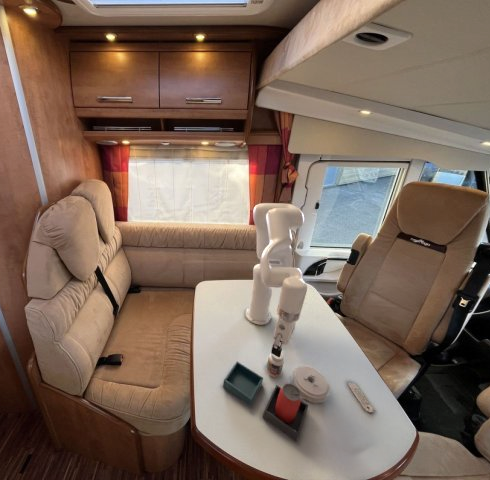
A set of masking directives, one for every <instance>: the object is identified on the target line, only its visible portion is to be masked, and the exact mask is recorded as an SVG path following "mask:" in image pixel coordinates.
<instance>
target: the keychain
mask: <svg viewBox="0 0 490 480" xmlns="http://www.w3.org/2000/svg"><path fill="white" fill-rule="evenodd" d="M348 387H349V389H351V392H352V393H353V394H354V397H356V399H357V400H358V402H359V403H360V405H361V407H362V408H363V409H364V411H366V412H367V413H373V412H374V407H373V406H372V405H371V404H370V402H369V401H368V399H367V398H366V396H365V395H364V394H363V392H362V391H361V390H360V388H359V386H358V385H357V384H356V383H354V382H349V383H348Z"/></svg>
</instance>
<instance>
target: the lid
mask: <svg viewBox="0 0 490 480" xmlns="http://www.w3.org/2000/svg"><path fill="white" fill-rule="evenodd" d="M290 381H291V384H292V385H294V386H296V387H297V388H298V389H299V391H300V393H301V398H302V399H304V400H305V401H308V402H310V403H315V404H319V403H320V404H321V403H323V402H325V401H326V400H327V398H328V396H329V394H330V391H331V390H330V384H329V381H328V380H327V378H326V377H325V375H323V373H321V372H320V371H319V370H318V369H316V368H314V367H311V366H309V365H298V366H296V367H295V368H294V369H293V371H292V375H291V379H290Z"/></svg>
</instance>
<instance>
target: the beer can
mask: <svg viewBox="0 0 490 480" xmlns="http://www.w3.org/2000/svg"><path fill="white" fill-rule="evenodd" d="M301 401H302V397H301V393H300V391H299V389H298V388H297V387H296V386H294V385H292V383H285V384H284V385H283V386H282V387H281V389H280V392H279V396H278V399H277V402H276V406H275V412H276V415H277V417H278V418H279V419H280V420H281V421H283V422H285V423H292V422H293V421H294V420H295V417H296V414H297V411H298V409H299V406H300V403H301Z"/></svg>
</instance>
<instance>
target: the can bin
mask: <svg viewBox="0 0 490 480" xmlns="http://www.w3.org/2000/svg"><path fill="white" fill-rule="evenodd" d="M281 388H282V387H281V386H280V385H278V384H276V385H275V387H274V389H273V390H272V392H271V395H270V397H269V400H268V402H267V404H266V406H265V408H264V410H263V414H262V418H263V419H264V420H265V421H266V422H269V423H270V424H271V425H272V426H274V427H275V428H276V429H278V430H279V431H280V432H282V433H283V434H284V435H286V437H289V438H290V439H291V440H293V441H294V442H295V443H297V441H298V439H299V437H300V433H301V430H302V427H303V424H304V421H305V417H306V414H307V412H308V408H309V404H308V403H306V402H305V401H303V400H301V403H300V406H299V409H298V411H297V414H296V417H295V420H294V421H293V422H292V423H285V422H283V421H281V420H280V419H279V418H278V417H277V415H276V412H275V406H276V402H277V399H278V396H279V392H280V389H281Z"/></svg>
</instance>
